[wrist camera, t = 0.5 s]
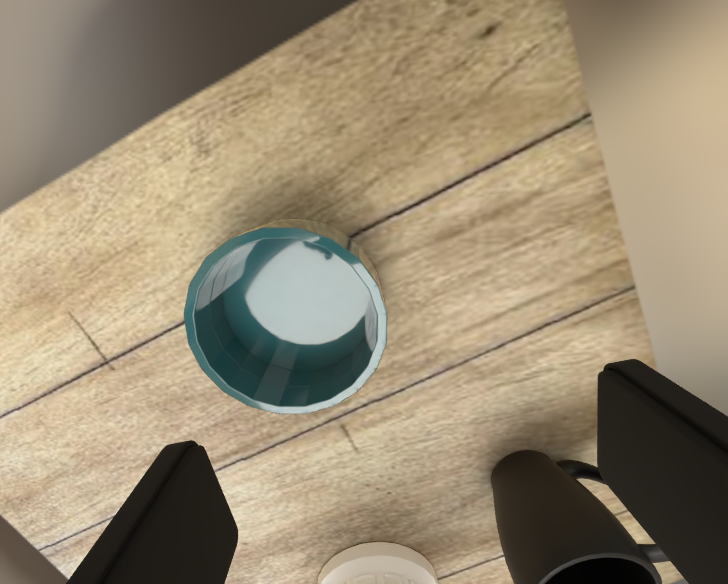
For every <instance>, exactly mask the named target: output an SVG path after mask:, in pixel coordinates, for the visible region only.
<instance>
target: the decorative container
mask: <svg viewBox="0 0 728 584" xmlns="http://www.w3.org/2000/svg"><path fill="white" fill-rule="evenodd" d="M317 584H438V581H437V576H436V573H435V571H434V569H433V567H432V565H431V564H430V563H429V562H428V560H427V559H426V558H425V557H424V556H423V555H421V554H420V553H418V552H416V551H414V550H413V549H411V548H409V547H405V546H402V545H399V544H396V543H386V542H373V543H363V544H359V545H356V546H353V547H350V548H347V549H345V550H343V551H342V552H340V553H338V554H336V555H335V556H333V557H332V558H331V559H330V560H329V561H328V562H327V563H326V564H325V565H324V567H323V569H322V570H321V572H320V574H319V576H318V583H317Z"/></svg>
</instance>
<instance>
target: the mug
mask: <svg viewBox="0 0 728 584" xmlns="http://www.w3.org/2000/svg"><path fill="white" fill-rule="evenodd" d="M579 478H584V479H591V480H594V481H597V482H600V483H603V484H606V483H605V481H604V480H603V478H602V476H601V475H600V472H599V469H598V467H595V466H593V465H590V464H587V463H584V462H580V461H575V460H562V461H559V462H557V463H555V462H554V461H553V460H551V459H550V458H549V457H548V456H547V455H545V454H543V453H540V452H537V451H528V450H527V451H519V452H516V453H513V454H511V455H509V456H507V457H505V458H504V459H503V460H502V461H500V462H499V464H498V465H497V466H496V467H495V469H494V471H493V474H492V479H491V480H492V488H493V496H494V507H495V515H496V522H497V528H498V533H499V537H500V542H501V546H502V550H503V553H504V557H505V560H506V563H507V566H508V569H509V571H510V574H511V577H512V579H513V582H514V584H662V580H661V577H660V575H659V573H658V571H657V570H656V568H655V566H654V565H653V564H652V563H658V562H666V561H670V560H669V559H668V558H667V556H666V555H665V554H664V553H663V552H662V550H661V549H660V548H659V547H658V546H657V544H637V543H636V542H635V540H634V539H633V538H632V537H631V535H630V534H629V533H628V531H627V530H626V529H625V528H624V526H623V525H622V524H621V523H620V521H619V520H618V519H617V518H616V517H615V516H614V515H613V514H612V513H611V512H610V510H609V509H608V508H607V507H606V506H605V505H604V504H603V503H602V502H601V501H600V500H599V499H598V498H597V497H596V496H594V495H593V494H592V493H591V492H590V491H589V490H588V489H587V488H586V487H585V486H583V485H582V484H581V483H580V482H579V481H578V480H576V479H579ZM606 485H607V484H606Z"/></svg>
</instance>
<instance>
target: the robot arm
mask: <svg viewBox="0 0 728 584" xmlns="http://www.w3.org/2000/svg"><path fill="white" fill-rule="evenodd" d="M597 464H598V469H599V472H600V475H601V476H602V478H603V480H604V481H605V483H606V484H607V485H608V486H609V488H610V489H611V490H612V491H613V492H614V494H615V495H616V496H617V497H618V498H619V500H620V501H621V502H622V503H623V504H624V506H625V507H626V508H627V509H628V511H629V512H630V513H631V514H632V515H633V517H634V518H635V519H636V520H637V521H638V523H639V524H640V525H641V526H642V527H643V529H644V530H645V531H646V532H647V533H648V535H649V536H650V537H651V538H652V540H653V541H654V542H655V543H656V544H657V546H658V547H659V548H660V549H661V550H662V552H663V553H664V554H665V555H666V556H667V558H668V559H669V560H670V561H671V562H672V564H673V565H674V566H675V567H676V569H677V570H678V571H679V572H680V573H681V575H682V576H683V577H684V578H685V579H686V581H687V582H688V583H689V584H728V417H727V416H726V415H724V414H723V413H721V412H720V411H718V410H716V409H715V408H713V407H712V406H710V405H709V404H707V403H706V402H704V401H702V400H701V399H699V398H698V397H696V396H695V395H693V394H691V393H690V392H688V391H686V390H685V389H683V388H682V387H680V386H679V385H677V384H676V383H674V382H672V381H671V380H669V379H668V378H666V377H665V376H663V375H661V374H660V373H658V372H657V371H655V370H653V369H652V368H650V367H649V366H647V365H646V364H644V363H642V362H641V361H639V360H636V359H630V360H625V361H619V362H614V363H608V364H607V365H605V367H604V370H603V371H602V372H600V373H599V374H598V430H597ZM237 542H238V528H237V525H236V523H235V520H234V518H233V516H232V513H231V511H230V508H229V506H228V503H227V501H226V499H225V496H224V494H223V491H222V489H221V487H220V484H219V482H218V479H217V477H216V475H215V472H214V470H213V467H212V465H211V463H210V460H209V458H208V455H207V453H206V450H205V449H204V447H203V446H201V445H199V446H198V444H197V443H196V442H195V441H185V442H180V443H174V444H169V445H167V446H165V447H164V448H163V450H162V451H161V452H160V454H159V455H158V456H157V458H156V459H155V461H154V462H153V463H152V465H151V466H150V468H149V469H148V470H147V472H146V473H145V475H144V476H143V477H142V479H141V480H140V482H139V483H138V484H137V486H136V487H135V488H134V490H133V491H132V493H131V494H130V495H129V497H128V498H127V500H126V501H125V502H124V504H123V505H122V507H121V508H120V509H119V511H118V512H117V514H116V515H115V516H114V518H113V519H112V520H111V522H110V523H109V525H108V526H107V527H106V529H105V530H104V532H103V533H102V534H101V536H100V537H99V539H98V540H97V541H96V543H95V544H94V545H93V547H92V548H91V550H90V551H89V552H88V554H87V555H86V557H85V558H84V559H83V561H82V562H81V564H80V565H79V566H78V568H77V569H76V571H75V572H74V573H73V575H72V576H71V577H70V579H69V580H68V582H67V583H66V584H224V583H225V580H226V577H227V574H228V571H229V568H230V565H231V562H232V559H233V555H234V552H235V549H236V546H237Z"/></svg>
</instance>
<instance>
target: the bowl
mask: <svg viewBox="0 0 728 584" xmlns="http://www.w3.org/2000/svg"><path fill="white" fill-rule="evenodd" d="M184 320H185V326H186V332H187V339H188V343H189V346H190V348H191V350H192V352H193V354H194V356H195V358H196V360H197V362H198V364H199V366H200V367H201V369H202V370H203V372H204V373H205V374H206V375H207V376H208V377H209V378H210V379H211V380H212V381H213V382H214V383H215V384H216V385H217V386H218V387H219V388H220V389H221V390H222V391H223V392H225V393H226V394H228V395H230V396H232V397H233V398H235V399H237V400H239V401H240V402H242V403H244V404H246V405H247V406H250V407H253V408H257V409H261V410H265V411H268V412H272V413H276V414H277V413H278V414H307V413H311V412H315V411H318V410H322V409H325V408H329V407H332V406H334V405H337V404H338V403H340V402H342V401H343V400H345V399H346V398H348V397H349V396H351V395H353V394H354V393H356V392H357V391H358V390H359V389H360V388H361V387H362V386H363V385H364V383H365V382H366V381H367V380H368V379H369V377H370V376H371V375H372V374H373V373H374V371H375V370H376V369H377V367H378V364H379V361H380V359H381V356H382V354H383V351H384V348H385V346H386V342H387V310H386V305H385V301H384V297H383V292H382V289H381V286H380V283H379V279H378V276H377V273H376V270H375V267H374V265H373V264H372V262H371V261H370V259H369V258H368V256H367V255H366V253H365V252H364V251H363V250H362V248H361V247H360V246H359V245H358V244H357V243H356V242H355V241H354V240H352V239H351V238H350V237H349V236H347V235H346V234H344V233H343V232H342V231H340V230H338V229H336V228H334V227H332V226H330V225H327V224H324V223H321V222H318V221H314V220H309V219H297V218H294V219H281V220H276V221H273V222H270V223H267V224H264V225H261V226H258V227H255V228H253V229H250V230H248V231H246V232H244V233H241V234H239V235H237V236H235V237H232V238H230V239H229V240H228V241H226V242H225V243H224V244H223V245H221V246H220V247H219V248H217V249H216V250H215V251H214V252H212V253H211V254H210V255H208V256H207V257H206V258H205V260H204V261H203V263H202V264H201V266H200V268H199V269H198V271H197V273H196V274H195V276H194V277H193V279H192V281H191V282H190V285H189V289H188V294H187V299H186V304H185V309H184Z"/></svg>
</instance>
